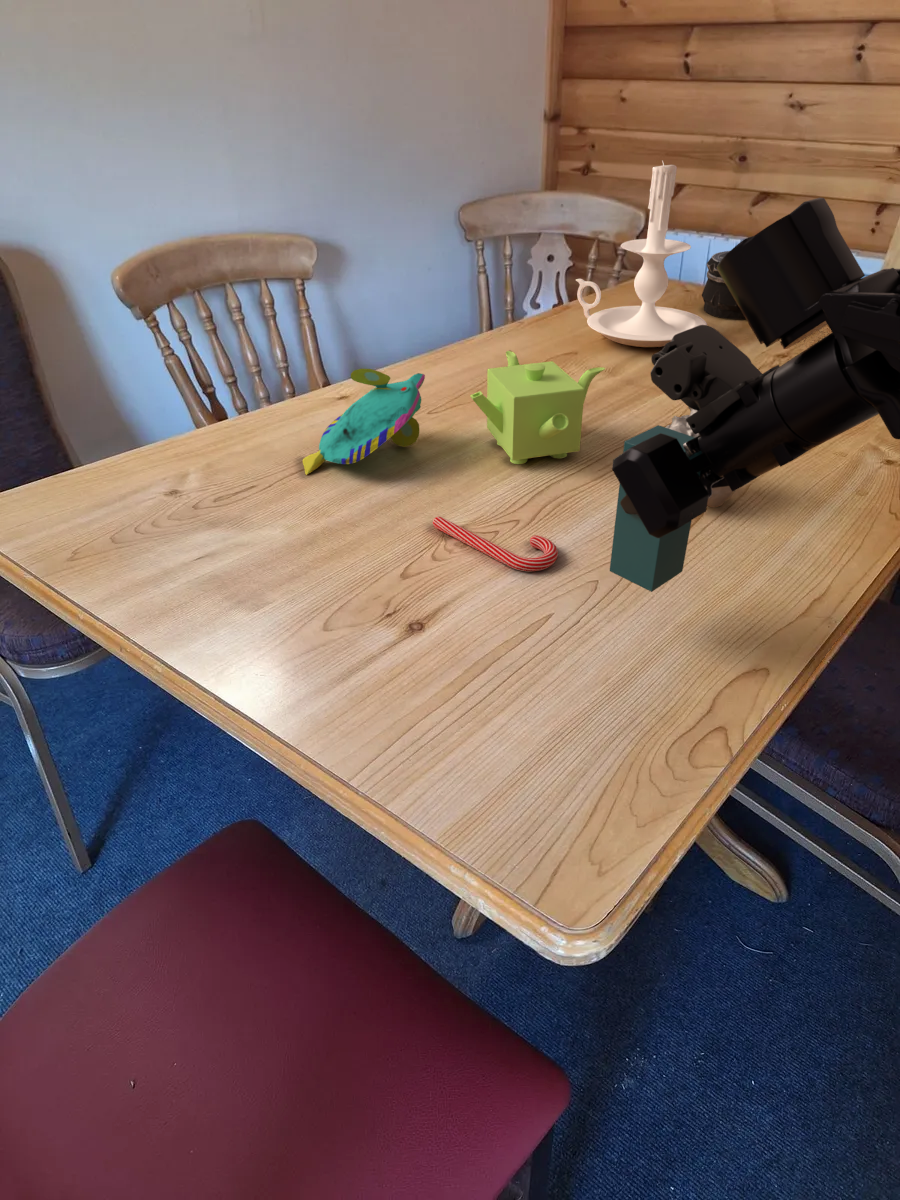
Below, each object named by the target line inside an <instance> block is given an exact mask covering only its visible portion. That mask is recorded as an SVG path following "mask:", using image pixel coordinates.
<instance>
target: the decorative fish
mask: <svg viewBox="0 0 900 1200" xmlns="http://www.w3.org/2000/svg"><path fill="white" fill-rule="evenodd" d="M425 378H426V375H425V374H424V373H419V372H417V373H414V374H413V375H412V376H410V377H409V378H408V379H406V380H403V381H398V382H392V383H391V382H390V380H391V376H390V375H388V374H385V373H383V372H382V371H379V370H376V369H372V368H357V369H354V370H352V372H351V373H350V379H351V380H352V381H353V382H355V383H359V384H364V385H368V386H373V388H372V389H370V391H368V392H366V393H365V394H364V395H362V396H361V397H360V398H358V399H357V400H356V401H355V402H353V403H352V404H351V405H350V406H349V407H348V408H347V409H345V411H344V412H343V413H342V414H340V415H339V416H338V417H337V418H335V419H334V420H333V421H332V422H331V423H330V424H328V425H327V426H326V428H325V430H324V431H323V433H322V435H321V437H320V439H319V440H320V441H319V443H318V451H317V452H315V453H311V454H309V455H306V456H305V457H304V458H303V459H302V465H303V469H304V474H305V475H306V476H307V475H309V474H311V473H312V472H314V471H315V470H316V469H318V468H319V467H320V466H321V465H323V464H324V463H325V462H327V461H328V462H331V463H334V464H338V465H339V464H340V465H350V464H355V463H357V462H360V461H361V460H363V459H365V458H366V457H368V456H369V455H371V454H372V453H373V452H375V451H376V450H377V449H378V448H379V447H380V446H382V445H383V444H384V443H386V442H387V441H388V440H389V439H390V438H391V441H392V443H394V444H395V445H396V446H399V447H403V448H404V447H411V446H412V445H414V444H415V443H417V441H418V439H419V436H420V429H421V428H420V423H419V422H418V420H417V419H416V418H414V415H415V414H416V413H417V412H418V411H419V410H420V409H421V407H422V406H421V404H422V396H421V393H420V391H419V390H420V388H421V387H422V386H423V384H424V382H425ZM389 382H390V383H389Z"/></svg>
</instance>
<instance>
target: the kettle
mask: <svg viewBox="0 0 900 1200" xmlns="http://www.w3.org/2000/svg"><path fill="white" fill-rule="evenodd" d="M505 356H506V359H507V365H506V366H500V367H491V368H487V371H486V373H487V375H486V377H487V378H486V379H487V380H486V381H487V382H486V384H487V385H486V387H487V388H486V396H485V395H484V394H483V392H482V391H481V390H479V391H477V392H474V393H472V394H470V395H469V396H470V398H471V399H472V401H473V402H474V403H475V404H476V406H477V407H478V408H479V409H480V410H481V411H482V413H483V415H485V416H486V428H487V430H488V431H489V433H490V434H491V435H492V436H493V438H494V439H495V440H496V445H497V446H500V448H502V449H503V450H504V451H505V453H506V455H507V456H508V458H510V459H509V461H510V463H511V464H515V465H524V464H526V463H528V460H529V459H532V458H540V457H547V456H550V457H551V458H553V459H564V458H566V457H567V456H568V453H569V454H570V453H576V452H580V449H581V440H582V439H581V438H582V426H583V413H584V404H585V401H586V398H587V394H588V390H589V388H590V385H591V383H592V381H593V380H594V378H595V377H596V376H597V375H599V374H600V373H602V372H603V371H605V370H606V368H605V367H604V366H603V367H601V366H599V367H592V368H589V369H587V370H585V372H583V373H582V375H581V376H580V378H579V379H578V381H577V380H575V379H574V378H573V377H571V375H569V374H568V373H567V372H566V371H564V370H563V369H562V368H561V367H560V366H559V365H558V364H557V363H555V361H553V360H551V361H542V362H532V363H525V364H520V362H519V358H518V356H517V354H516V353H515V352H513V351H511V350H506V352H505Z"/></svg>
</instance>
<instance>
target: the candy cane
mask: <svg viewBox="0 0 900 1200" xmlns="http://www.w3.org/2000/svg"><path fill="white" fill-rule="evenodd" d="M432 526H433V527H434V528H435V529H437V530H438V531H441V532H442V533H444V534H446V535H448V536H451V537H452V538H454V539H456V540H458V541H460V542H462V543H464V544H465V545H468V546H469V547H471V548H473V549H475V550H477V551H479V552H480V553H483V554H484V555H486V556H488V557H491V558H492V559H494V560H496V561H498V562H500V563H502V564H504V565H506V566H508V567H509V568H512V569H514V570H517V571H520V572H521V571H522V572H539V571H543V570H545V569H548V568H549V567H551V566H552V565H554V564H555V562H556V561H557V559H558V555H559V552H558V548H557V546H556V544H555V543H554V542H552V541H551V540H550V539H549V538H546V537H544V536H541V535H538V534H537V535H536V534H534V535H532V536H531V537H530V538H529V544H530V546H531V547H532V548H533V549H537V550H540V551H541V552H543V554H542V555H540V556H537V557H536V556H535V557H524V556H520V555H517V554H515V553H513V552H511V551H509V550H508V549H505V548H503V547H501V546H500V545H498V544H496V543H493V542H492V541H490V540H488V539H485V538H484V537H481V536H480V535H477V534H475V533H473V532H472V531H470V530H468V529H466V528H464V527H462V526H460V525H458V524H456V523H454V522H452V521H450V520H448V519H446V518H444V517H443V516H436V517H434V518H433V519H432Z"/></svg>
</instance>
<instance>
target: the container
mask: <svg viewBox="0 0 900 1200" xmlns="http://www.w3.org/2000/svg"><path fill="white" fill-rule="evenodd" d="M730 251H731V250H726V251H725V250H724V251H720V252H716V253H714V254H712V256H711V257H710V258H709V259H708V261H707V262H706V267H707V271H706V278H707V280H706V282H705V284H704V288H703V290H702V293H701V297H702V300H703V302H704V304H703V311H704V313H706V314H709V315H710V316H713V317H716V318H721V319H724V320H725V319H726V320H746V318H745V316H744V315H743V313H742V311H741V310H740V308H739V306H738V304H737V303H736V301H735V299H734V298H733V296H732V294H731V292H730V291H729V289H728V287H727V286H726V284H725V282H724V280H723V279H722V277H721V275H720V274H719V272H718V270H717V265H718V264H719V262H720V261H721V260H722V259H723V258H724V256H725V255H726V254H727V253H729V252H730Z"/></svg>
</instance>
